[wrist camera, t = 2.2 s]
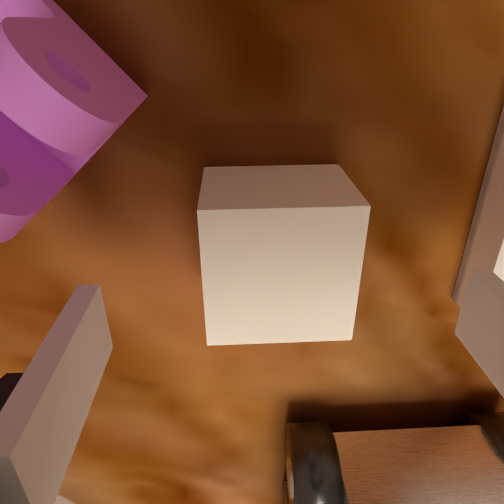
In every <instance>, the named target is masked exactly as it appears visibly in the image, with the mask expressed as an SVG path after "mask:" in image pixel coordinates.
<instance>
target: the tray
mask: <svg viewBox="0 0 504 504" xmlns="http://www.w3.org/2000/svg"><path fill="white" fill-rule="evenodd" d="M471 271H493V272H494V273H495V274H496V275H497V276H498V277H499V278H500V279H501V280H503V281H504V104H503V108H502V112H501V115H500V119H499V123H498V127H497V130H496V134H495V138H494V142H493V145H492V149H491V153H490V157H489V160H488V164H487V168H486V172H485V175H484V179H483V183H482V186H481V190H480V194H479V198H478V201H477V205H476V209H475V213H474V216H473V220H472V224H471V228H470V231H469V235H468V239H467V243H466V246H465V250H464V254H463V258H462V261H461V265H460V269H459V273H458V276H457V280H456V284H455V288H454V291H453V295H452V299H453V300H454V301H455V302H456V304H457V305H458V306H459V307H460V309H461V306H462V302H463V299H464V295H465V291H466V288H467V284H468V280H469V276H470V273H471Z"/></svg>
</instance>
